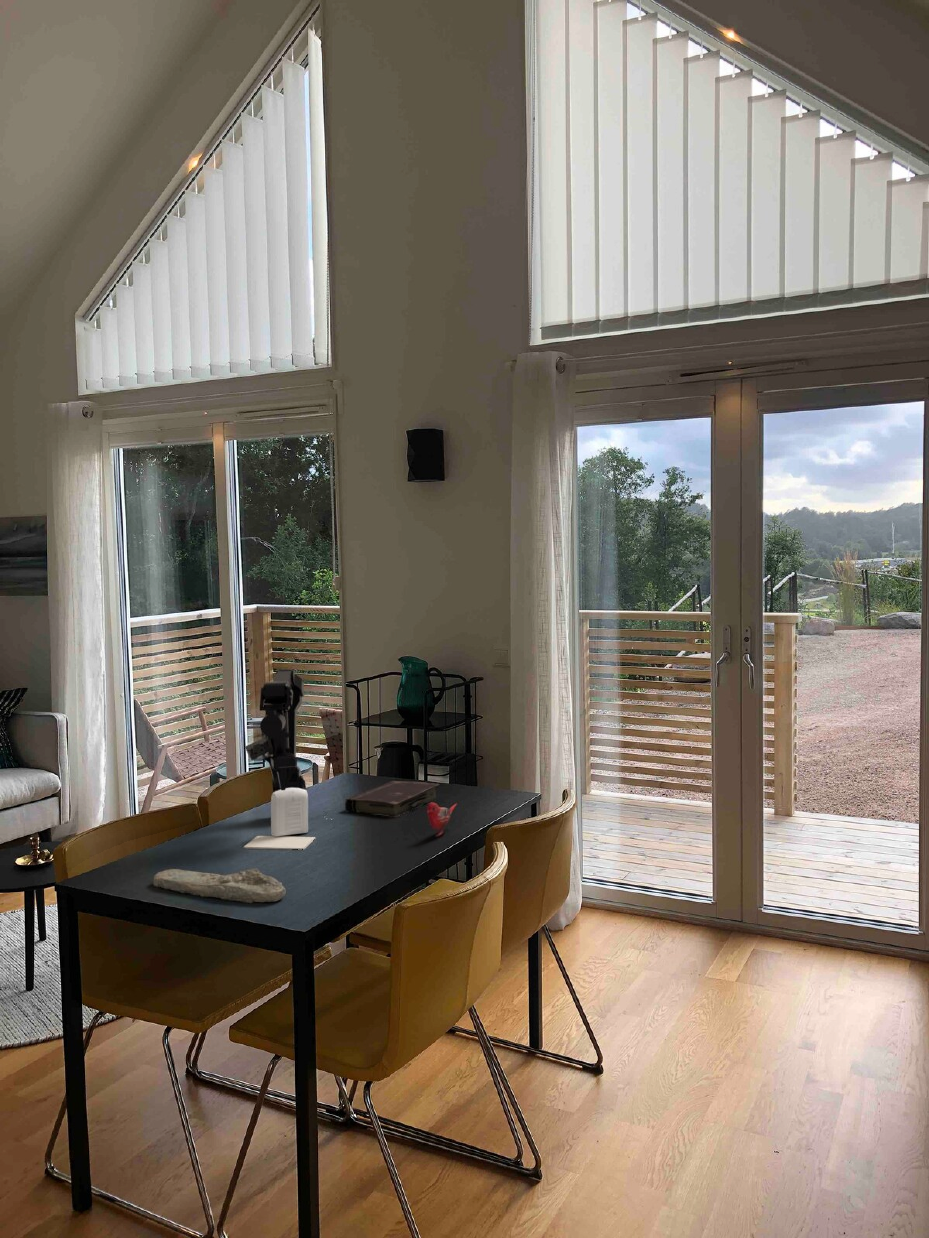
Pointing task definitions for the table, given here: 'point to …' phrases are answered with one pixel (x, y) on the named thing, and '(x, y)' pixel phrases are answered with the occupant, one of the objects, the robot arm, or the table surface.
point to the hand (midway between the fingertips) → (279, 786)
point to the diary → (392, 798)
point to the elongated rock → (223, 885)
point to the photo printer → (289, 812)
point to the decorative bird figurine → (439, 816)
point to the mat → (279, 842)
